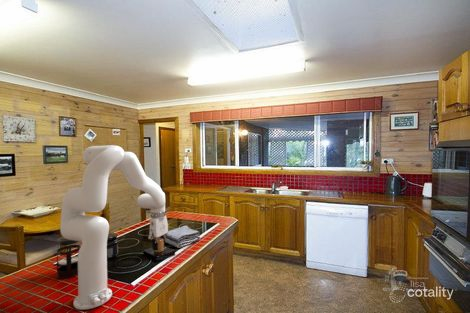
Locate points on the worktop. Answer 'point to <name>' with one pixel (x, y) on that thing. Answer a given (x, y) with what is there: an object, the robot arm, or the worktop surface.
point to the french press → (67, 259)
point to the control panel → (158, 254)
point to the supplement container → (112, 246)
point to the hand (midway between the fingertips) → (158, 247)
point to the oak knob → (160, 245)
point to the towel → (182, 236)
